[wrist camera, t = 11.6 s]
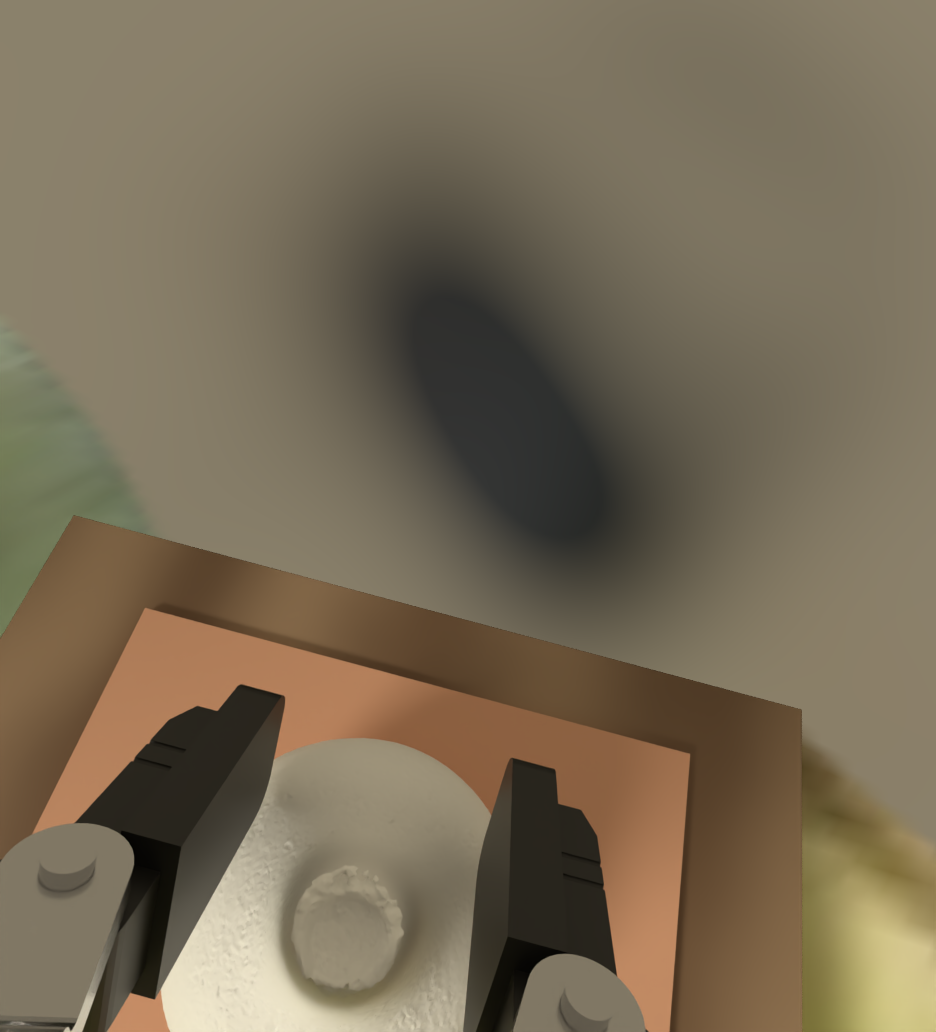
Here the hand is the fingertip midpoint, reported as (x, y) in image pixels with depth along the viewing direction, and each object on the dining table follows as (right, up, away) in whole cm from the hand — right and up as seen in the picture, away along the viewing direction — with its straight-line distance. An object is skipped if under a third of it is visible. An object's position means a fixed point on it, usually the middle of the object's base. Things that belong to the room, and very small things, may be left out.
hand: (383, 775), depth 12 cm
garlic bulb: (-1, -4, +3) cm, 5 cm away
